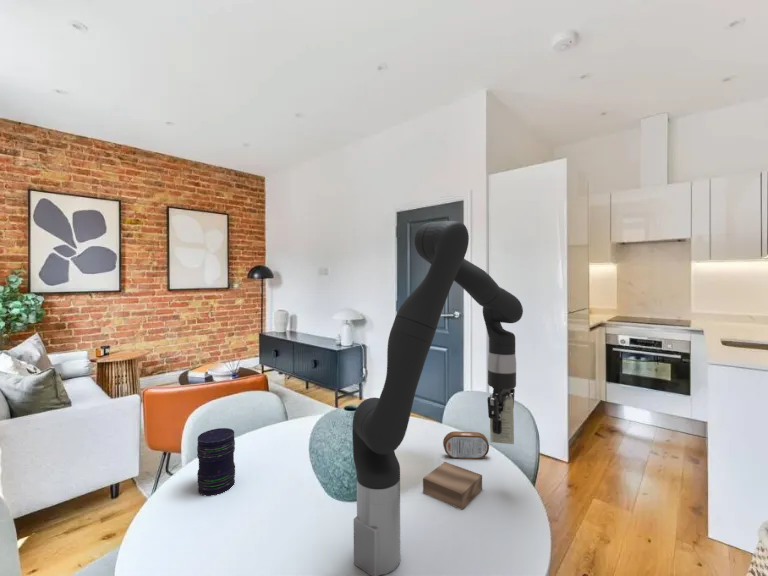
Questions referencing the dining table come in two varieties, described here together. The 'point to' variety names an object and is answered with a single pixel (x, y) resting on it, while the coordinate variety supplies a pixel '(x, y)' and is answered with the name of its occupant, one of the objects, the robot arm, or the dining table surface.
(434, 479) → the walnut plinth
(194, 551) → the dining table surface
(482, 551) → the dining table surface
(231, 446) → the dark blue cylinder
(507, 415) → the skincare box
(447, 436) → the tin
